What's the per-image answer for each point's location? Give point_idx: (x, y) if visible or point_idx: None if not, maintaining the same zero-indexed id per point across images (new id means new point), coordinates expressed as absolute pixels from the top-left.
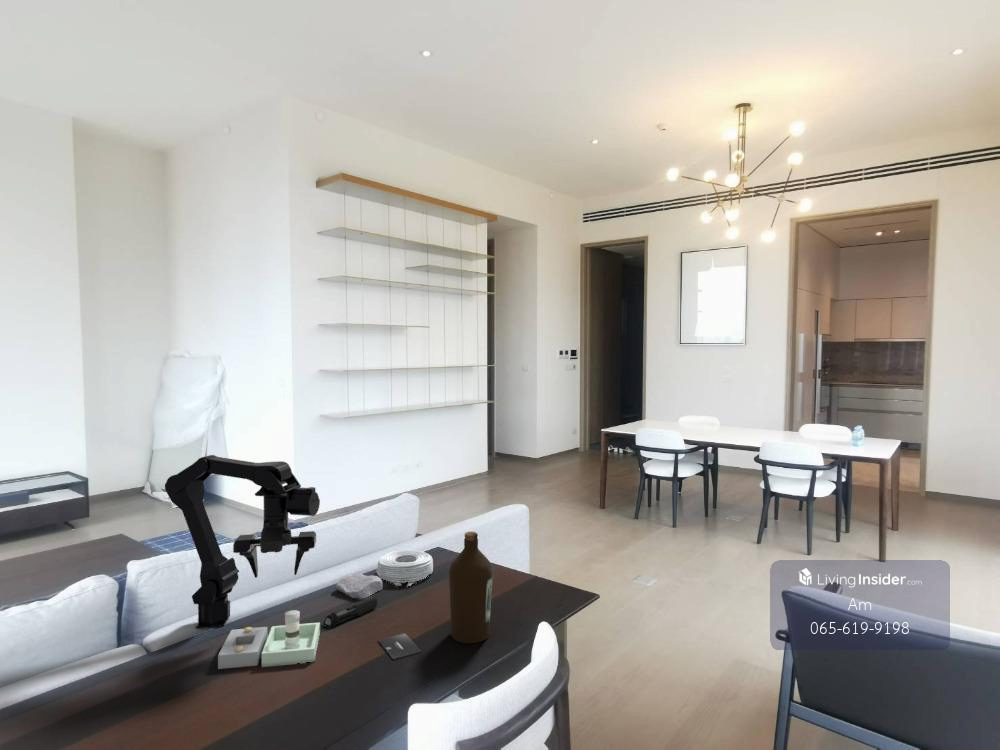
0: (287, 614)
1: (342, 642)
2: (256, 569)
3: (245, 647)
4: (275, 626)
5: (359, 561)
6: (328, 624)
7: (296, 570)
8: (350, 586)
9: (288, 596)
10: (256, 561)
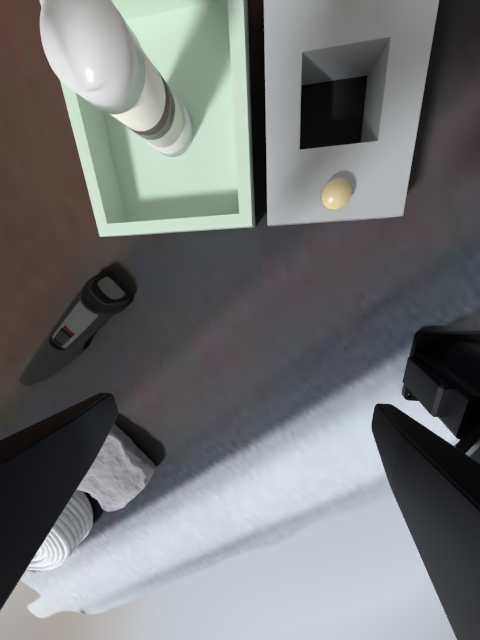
0: (102, 17)
1: (46, 174)
2: (416, 466)
3: (325, 9)
4: (239, 223)
5: (150, 562)
6: (112, 282)
7: (68, 409)
8: (108, 455)
9: (260, 461)
10: (467, 600)
